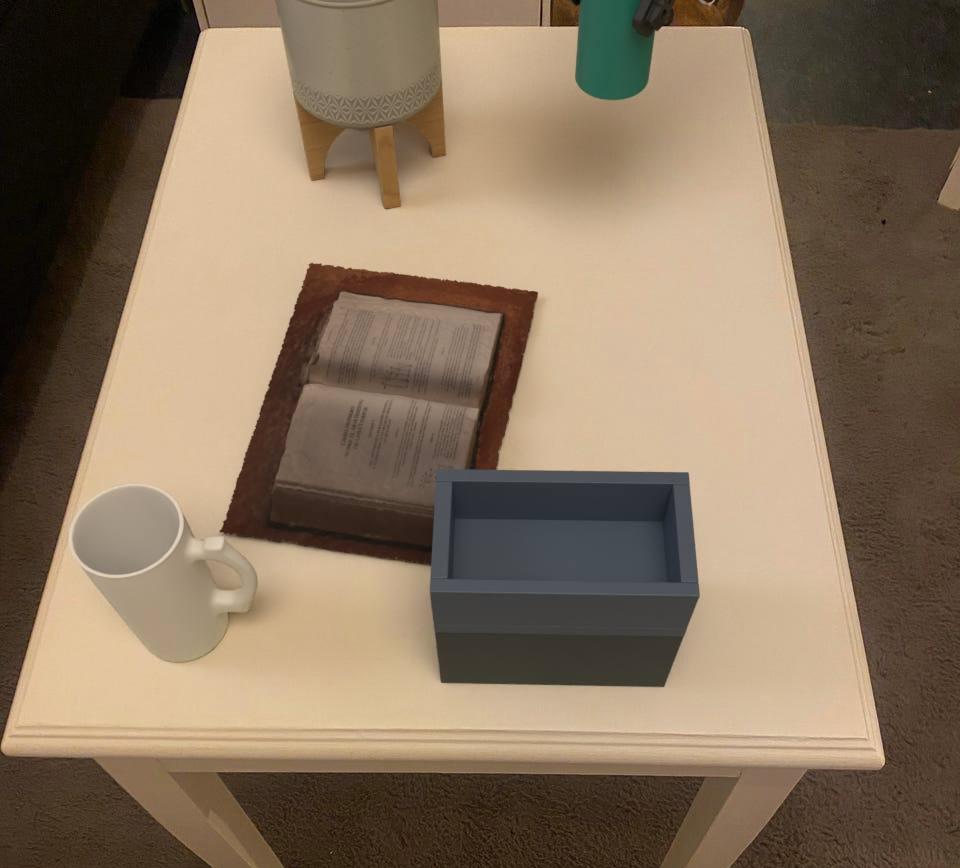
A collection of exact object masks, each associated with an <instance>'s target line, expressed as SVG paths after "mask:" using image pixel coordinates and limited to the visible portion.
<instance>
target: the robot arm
mask: <svg viewBox="0 0 960 868" xmlns="http://www.w3.org/2000/svg"><path fill="white" fill-rule="evenodd" d="M676 1H677V0H641V2H640V4H639V6H638V8H637V10H636V12H635V14H634V17H633V20H632V27H633V28H634V29H635V30H636V32H637V33H638V34H639V35H641V36H644V37H646V38H649V37H650V36H651V35H652V33H653V31H654V30H655V32H659V31H660V29H661V28H663V26H664V25H665V23H666V22H667V19H668V17H669V15H670V13H671V12H672V9H673V7H674V5H675V3H676ZM566 2H567V3H569V4H571V5H573V6H576V7H578V6H580V0H566Z"/></svg>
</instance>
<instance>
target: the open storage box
mask: <svg viewBox="0 0 960 868" xmlns="http://www.w3.org/2000/svg"><path fill="white" fill-rule="evenodd" d="M690 484H691V483H690V473H689V471H626V470H625V471H623V470H620V471H619V470H618V471H617V470H615V471H614V470H543V469H541V470H540V469H539V470H538V469H496V470H471V469H437V473H436V491H435V508H434V525H433V542H432V559H431V565H430V580H429V598H430V606H431V613H432V614H431V615H432V622H433V630H434V637H435V638H434V639H435V645H436V651H437V652H436V653H437V662H438V669H439V678H440V683H442V684H483V685H484V684H485V685H487V684H489V685H535V686H536V685H537V686H538V685H539V686H540V685H542V686H589V687H591V686H592V687H595V686H597V687H599V686H600V687H646V688H647V687H648V688H649V687H650V688H664V687H665V686H666V683H667V681H668V678H669V675H670V673H671V670H672V668H673V665H674V662H675V660H676V658H677V655H678V653H679V650H680V647H681V644H682V642H683V640H684V637H685V635H686V632H687V630H688V627H689V624H690V622H691V619H692V617H693V614H694V611H695V609H696V607H697V604H698V601H699V599H700V597H701V593H700V583H699V572H698V561H697V551H696V538H695V528H694V515H693V506H692V495H691V485H690Z"/></svg>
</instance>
